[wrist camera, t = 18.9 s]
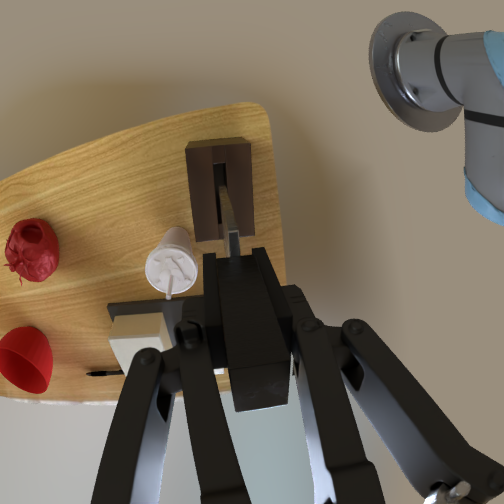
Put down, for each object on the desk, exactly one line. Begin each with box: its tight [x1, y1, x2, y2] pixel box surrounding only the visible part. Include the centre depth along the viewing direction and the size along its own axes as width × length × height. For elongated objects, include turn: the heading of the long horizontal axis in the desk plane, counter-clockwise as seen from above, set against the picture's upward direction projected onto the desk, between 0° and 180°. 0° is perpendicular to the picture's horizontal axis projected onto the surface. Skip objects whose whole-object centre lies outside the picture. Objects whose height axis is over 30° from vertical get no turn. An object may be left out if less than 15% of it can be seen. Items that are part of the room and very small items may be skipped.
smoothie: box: [145, 227, 198, 300], centre depth 36 cm, size 6×6×14 cm
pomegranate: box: [4, 218, 59, 286], centre depth 34 cm, size 10×10×9 cm
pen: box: [86, 370, 124, 376], centre depth 52 cm, size 14×2×1 cm, turn 97°
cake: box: [108, 312, 172, 376], centre depth 46 cm, size 9×10×6 cm
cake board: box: [107, 295, 204, 347], centre depth 50 cm, size 20×14×1 cm
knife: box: [216, 186, 291, 412], centre depth 18 cm, size 2×6×18 cm, turn 3°
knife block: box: [185, 137, 255, 242], centre depth 36 cm, size 7×11×8 cm, turn 3°
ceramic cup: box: [0, 326, 53, 394], centre depth 42 cm, size 13×17×10 cm
